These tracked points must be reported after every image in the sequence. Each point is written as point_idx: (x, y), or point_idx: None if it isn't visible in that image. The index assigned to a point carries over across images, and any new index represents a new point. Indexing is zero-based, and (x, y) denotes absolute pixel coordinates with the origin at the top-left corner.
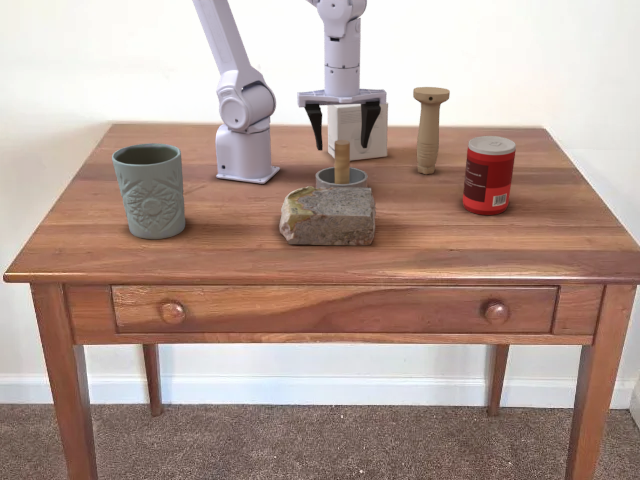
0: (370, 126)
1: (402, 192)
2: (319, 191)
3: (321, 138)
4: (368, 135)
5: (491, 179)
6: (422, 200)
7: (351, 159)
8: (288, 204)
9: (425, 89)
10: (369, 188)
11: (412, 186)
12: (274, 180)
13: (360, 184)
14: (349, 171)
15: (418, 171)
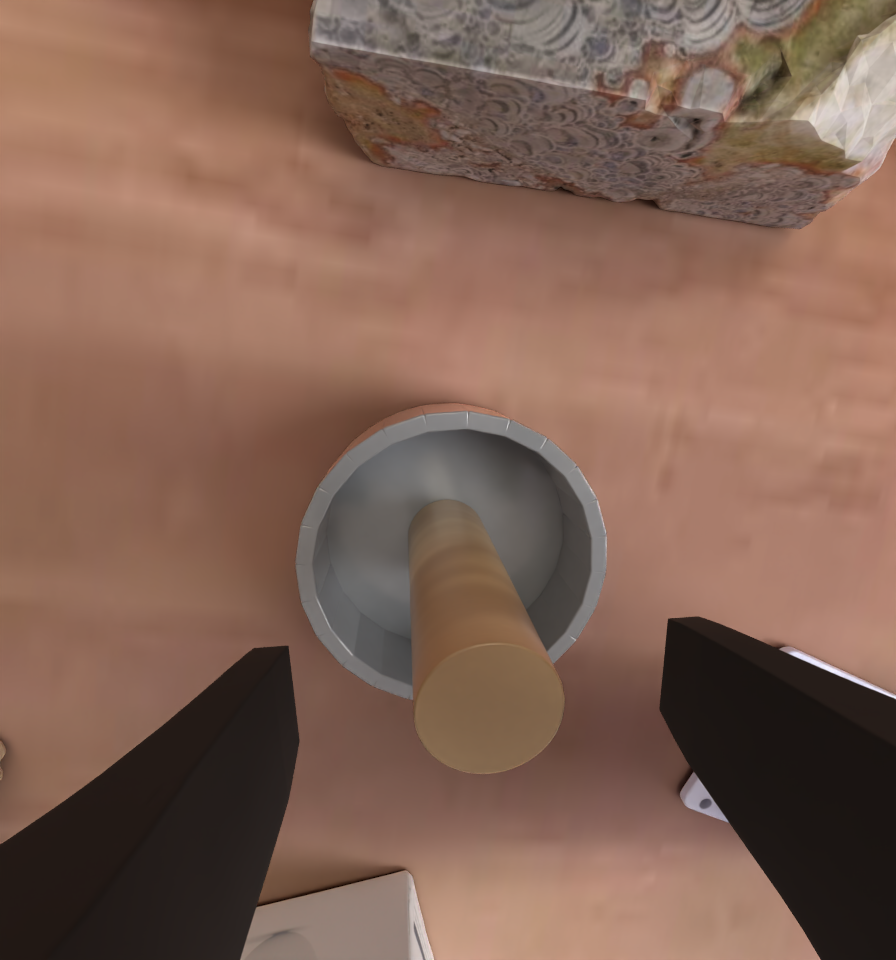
0: (68, 821)
1: (119, 496)
2: (754, 8)
3: (765, 667)
4: (179, 722)
5: None
6: (4, 368)
7: (343, 890)
8: None
9: None
10: (327, 22)
11: (54, 572)
12: None
13: (357, 443)
14: (411, 568)
15: (1, 746)
